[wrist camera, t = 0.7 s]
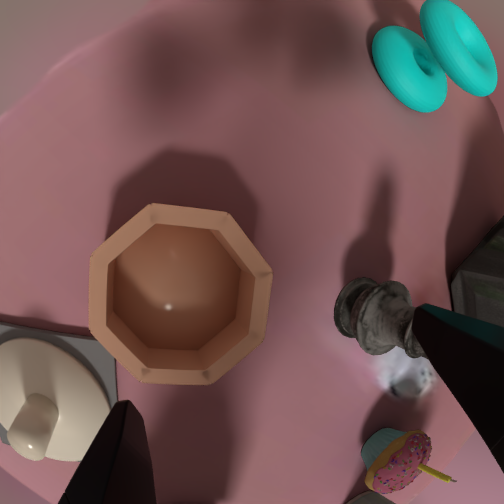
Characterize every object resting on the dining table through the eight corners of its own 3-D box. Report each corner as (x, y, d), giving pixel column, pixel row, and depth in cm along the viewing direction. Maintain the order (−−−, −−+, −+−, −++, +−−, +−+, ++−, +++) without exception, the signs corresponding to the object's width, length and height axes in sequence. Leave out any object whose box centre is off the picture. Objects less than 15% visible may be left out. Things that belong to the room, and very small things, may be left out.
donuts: (511, 105, 17) (461, 71, 14) (439, 122, 26) (376, 105, 23) (481, 20, 16) (420, -25, 13) (420, 48, 25) (356, 21, 22)
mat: (125, 463, 19) (125, 467, 18) (4, 439, 15) (2, 442, 15) (114, 339, 18) (113, 342, 18) (-25, 315, 15) (-28, 317, 14)
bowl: (240, 358, 21) (257, 383, 17) (101, 351, 18) (91, 377, 14) (256, 220, 21) (279, 219, 17) (108, 203, 18) (96, 197, 14)
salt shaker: (321, 296, 23) (444, 347, 11) (374, 261, 24) (497, 284, 13) (342, 353, 24) (446, 418, 13) (390, 317, 25) (496, 357, 14)
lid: (119, 463, 18) (118, 508, 13) (5, 440, 15) (-13, 476, 10) (107, 348, 18) (94, 387, 13) (-23, 325, 14) (-59, 349, 9)
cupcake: (374, 411, 26) (453, 469, 15) (414, 415, 29) (482, 458, 18) (334, 471, 26) (395, 536, 15) (379, 468, 29) (436, 517, 17)
